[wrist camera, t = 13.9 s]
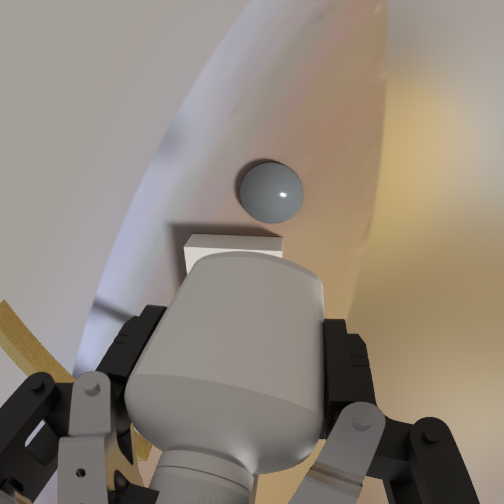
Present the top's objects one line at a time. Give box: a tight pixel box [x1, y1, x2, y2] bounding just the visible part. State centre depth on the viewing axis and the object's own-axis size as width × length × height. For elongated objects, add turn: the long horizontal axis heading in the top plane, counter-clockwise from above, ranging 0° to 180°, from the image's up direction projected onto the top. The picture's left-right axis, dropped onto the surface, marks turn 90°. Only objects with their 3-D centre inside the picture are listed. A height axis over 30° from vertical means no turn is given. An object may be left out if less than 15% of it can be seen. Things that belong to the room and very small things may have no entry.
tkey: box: [0, 300, 152, 461], centre depth 26 cm, size 18×2×14 cm, turn 31°
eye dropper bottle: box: [124, 251, 325, 504], centre depth 9 cm, size 4×6×12 cm
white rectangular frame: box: [184, 234, 283, 275], centre depth 29 cm, size 10×8×2 cm
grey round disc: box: [240, 162, 303, 224], centre depth 25 cm, size 5×5×1 cm
